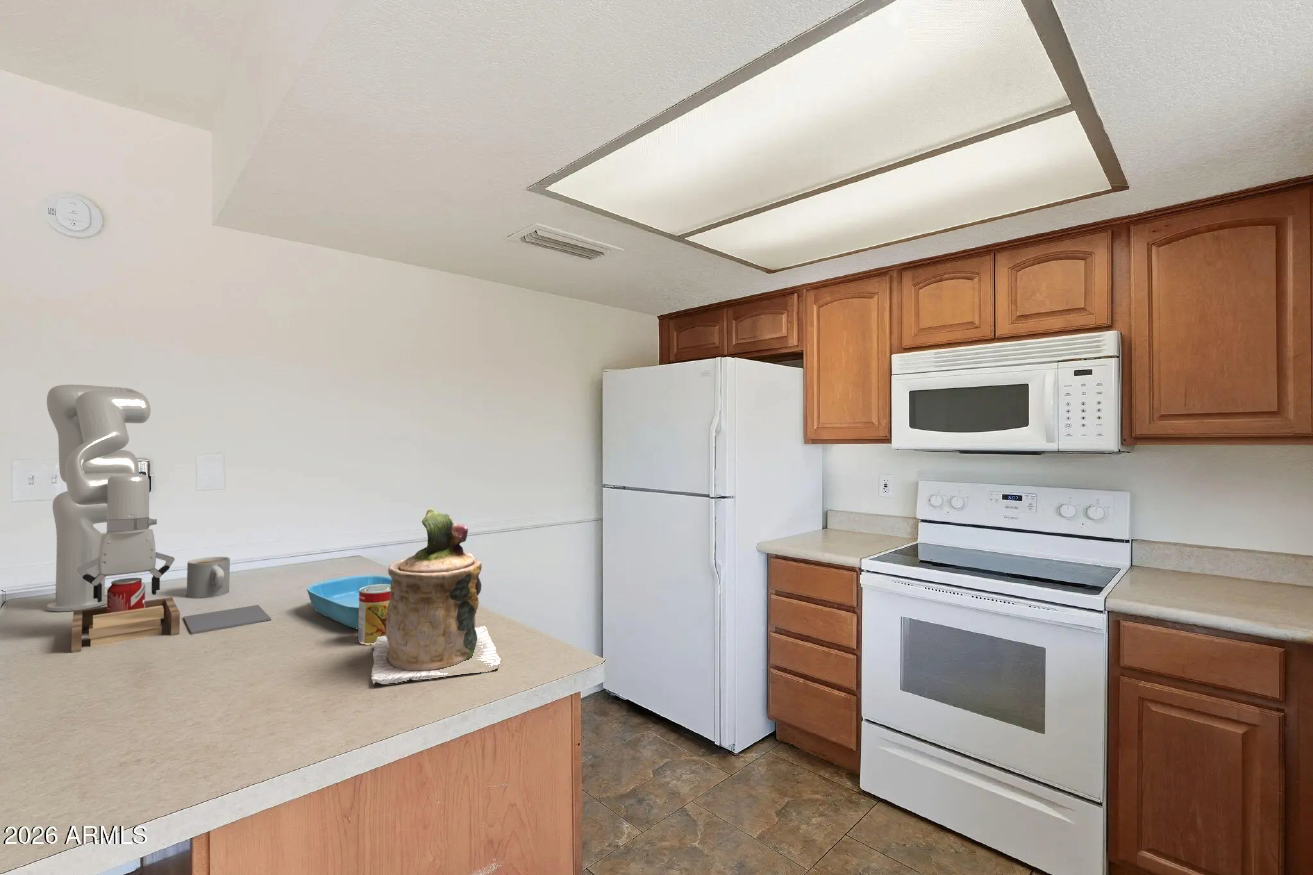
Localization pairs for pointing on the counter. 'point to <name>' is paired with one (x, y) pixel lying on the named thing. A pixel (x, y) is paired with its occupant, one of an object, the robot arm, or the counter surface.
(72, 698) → the counter surface
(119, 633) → the offcut stack
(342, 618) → the casserole dish
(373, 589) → the canned food
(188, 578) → the coffee mug
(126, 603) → the soda can
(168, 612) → the frame
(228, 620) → the rubber mat
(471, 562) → the cookie jar
